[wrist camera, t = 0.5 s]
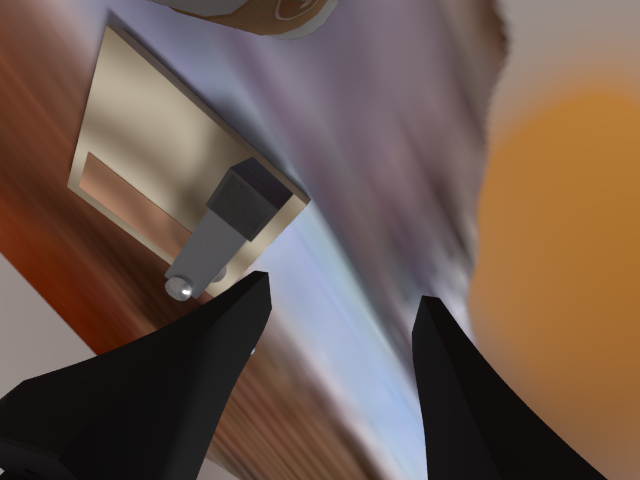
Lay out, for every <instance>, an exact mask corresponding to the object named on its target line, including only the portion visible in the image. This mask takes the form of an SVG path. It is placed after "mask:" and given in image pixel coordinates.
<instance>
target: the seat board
mask: <svg viewBox="0 0 640 480" xmlns="http://www.w3.org/2000/svg"><path fill="white" fill-rule="evenodd" d="M251 157H254V158H255V159H256V160H257V161H258V162H259V163H260V164H261V165H263V166H264V167H265V168H266V169H267V170H268V171H269V172H270V173H271V174H272V175H274V176H275V177H276V178H277V179H278V180H279V181H280V182H281V183H282V184H284V185H285V186H286V187H287V188H288V189H289V190H290V191H291V192H292V193H294V194H293V196H292V197H291V198H290V199H289V200H288V201H287V202H286V204H285V205H284V206H283V207H282V208H281V209H280V210H279V212H278V213H277V214H276V215H275V216H274V217H273V218H272V220H271V221H270V222H269V223H268V224H267V225H266V226H265V228H264V229H263V230H262V231H261V232H260V233H259V234H258V235H257V236H256V238H255V239H254V240H253V241H252V242H249V241H247V242H246V243H245V245H244V246H243V247H242V248H241V249H240V250H239V252H238V253H237V254H236V255H235V256H234V257H233V259H232V260H231V261H230V262H229V263H228V264H227V266H226V267H225V268H224V269H223V270H222V271H221V273H220V274H219V275H218V276H217V277H216V278H215V279H214V280H213V282H212V283H211V284H210V285H209V286H208V287H207V288H206V289H205V291H207V292H208V293H209V294H211V295H212V296H213V297H216V296H218V295H219V294H221V293H222V292H224V291H225V290H227V289H228V288H230V287H231V286H232V284H233V283H234V282H235V281H236V280H237V279H238V278H239V277H240V276H241V275H242V274H243V273H244V272H245V271H246V270H247V269H248V267H249V266H250V265H251V264H252V263H253V262H254V261H255V260H256V259H257V258H258V257H259V256H260V255H261V254H262V253H263V252H264V250H265V249H266V248H267V247H268V246H269V245H270V244H271V243H272V242H273V241H274V240H275V239H276V238H277V237H278V236H279V235H280V233H281V232H282V231H283V230H284V229H285V228H286V227H287V226H288V225H289V224H290V223H291V222H292V221H293V220H294V219H295V218H296V216H297V215H298V214H299V213H300V212H301V211H302V210H303V209H304V208H305V207H306V206H307V204H308V203H309V202H310V200H311V199H310V198H308V197H307V196H306V195H305V194H304V193H303V192H302V191H301V190H300V189H299V188H297V187H296V186H295V185H294V184H293V183H292V182H291V181H290V180H289V179H288V178H286V177H285V176H284V175H283V174H282V173H281V172H280V171H279V170H278V169H277V168H276V167H274V166H273V165H272V164H271V163H270V162H269V161H268V160H267V159H266V158H265V157H263V156H262V155H261V154H260V153H259V152H258V151H257V150H256V149H255V148H254V147H252V146H251V145H250V144H249V143H248V142H247V141H246V140H245V139H244V138H243V137H242V136H240V135H239V134H238V133H237V132H236V131H235V130H234V129H233V128H232V127H231V126H229V125H228V124H227V123H226V122H225V121H224V120H223V119H222V118H221V117H220V116H218V115H217V114H216V113H215V112H214V111H213V110H212V109H211V108H210V107H209V106H207V105H206V104H205V103H204V102H203V101H202V100H201V99H200V98H199V97H198V96H197V95H195V94H194V93H193V92H192V91H191V90H190V89H189V88H188V87H187V86H186V85H184V84H183V83H182V82H181V81H180V80H179V79H178V78H177V77H176V76H175V75H173V74H172V73H171V72H170V71H169V70H168V69H167V68H166V67H165V66H164V65H163V64H161V63H160V62H159V61H158V60H157V59H156V58H155V57H154V56H153V55H152V54H150V53H149V52H148V51H147V50H146V49H145V48H144V47H143V46H142V45H141V44H139V43H138V42H137V41H136V40H135V39H134V38H133V37H132V36H131V35H130V34H128V33H127V32H126V31H125V30H124V29H122V28H118V27H114V26H110V25H106V28H105V32H104V36H103V40H102V45H101V49H100V53H99V57H98V61H97V65H96V69H95V73H94V78H93V82H92V86H91V90H90V94H89V98H88V102H87V107H86V111H85V115H84V119H83V123H82V127H81V131H80V135H79V140H78V144H77V148H76V152H75V156H74V160H73V164H72V169H71V173H70V177H69V181H68V185H67V187H68V188H69V189H71V190H72V191H73V192H75V193H76V194H77V195H79V196H80V197H81V198H83V199H84V200H85V201H87V202H88V203H89V204H91V205H92V206H93V207H95V208H96V209H97V210H99V211H100V212H101V213H103V214H104V215H105V216H107V217H108V218H109V219H111V220H112V221H113V222H115V223H116V224H117V225H119V226H120V227H121V228H123V229H124V230H125V231H127V232H128V233H129V234H131V235H132V236H133V237H135V238H136V239H137V240H139V241H140V242H141V243H143V244H144V245H145V246H147V247H148V248H149V249H151V250H152V251H153V252H155V253H156V254H157V255H159V256H160V257H161V258H163V259H164V260H165V261H167V262H168V263H169V264H171V265H172V263H173V262H174V260H175V259H176V257H177V256H178V254H179V253H180V251H181V250H182V248H183V247H184V245H185V244H186V242H187V241H188V239H189V238H190V236H191V235H192V233H193V232H194V230H195V229H196V227H197V226H198V224H199V223H200V221H201V220H202V218H203V217H204V215H205V214H206V212H207V211H208V209H209V208H208V207H207V206H206V203H207V202H208V200H209V198H210V197H211V195H212V194H213V192H214V191H215V189H216V188H217V186H218V185H219V183H220V182H221V180H222V178H223V177H224V175H225V174H226V172H227V171H228V169H229V168H230V167H232V166H234V165H236V164H238V163H240V162H242V161H244V160H247V159H249V158H251Z"/></svg>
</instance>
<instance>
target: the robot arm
mask: <svg viewBox="0 0 640 480" xmlns="http://www.w3.org/2000/svg"><path fill="white" fill-rule="evenodd" d="M271 310H272V305H271V295H270V285H269V275H268V272H261V271H253V272H252V273H250V274H249V275H247V276H246V277H244V278H243V279H241V280H240V281H238V282H237V283H236V284H234V285H233V286H231V287H230V288H228V289H227V290H225V291H224V292H222V293H221V294H219V295H218V296H216V297H215V298H213V299H212V300H210V301H208V302H207V303H205V304H204V305H202V306H200V307H199V308H196V309H195V310H194V311H192V312H190V313H189V314H187V315H185V316H184V317H182V318H180V319H178V320H176V321H174V322H172V323H171V324H169V325H167V326H165V327H163V328H161V329H159V330H157V331H155V332H153V333H150V334H148V335H146V336H144V337H141V338H139V339H137V340H135V341H133V342H130V343H128V344H126V345H124V346H121V347H119V348H116V349H114V350H111V351H109V352H106V353H104V354H101V355H98V356H96V357H93V358H90V359H88V360H85V361H82V362H79V363H77V364H74V365H71V366H68V367H65V368H62V369H59V370H56V371H52V372H49V373H47V374H43V375H40V376H37V377H34V378H31V379H27V380H24V381H23V382H21V383H20V384H19V385H17V386H16V387H15V388H14V389H13V390H11V391H10V392H9V393H7V394H6V395H5V396H4V397H3V398H1V399H0V468H1V469H3V470H4V472H3V473H2V474H1V475H0V480H196V479H197V476H198V473H199V470H200V468H201V465H202V463H203V460H204V457H205V455H206V452H207V450H208V447H209V444H210V442H211V439H212V437H213V434H214V432H215V429H216V427H217V424H218V422H219V420H220V417H221V415H222V412H223V410H224V408H225V405H226V403H227V401H228V398H229V396H230V394H231V391H232V389H233V387H234V385H235V383H236V381H237V379H238V377H239V375H240V373H241V372H242V370H243V368H244V366H245V364H246V362H247V361H248V359H249V357H250V355H251V354H253V353H254V351H255V346H256V344H257V342H258V340H259V338H260V336H261V334H262V332H263V331H264V328H265V326H266V323H267V321H268V318H269V315H270V312H271ZM412 351H413V363H414V369H415V376H416V382H417V388H418V394H419V400H420V406H421V413H422V419H423V426H424V434H425V445H426V459H427V473H428V480H607V479H606V478H605V477H604V476H603V475H602V474H600V473H599V472H598V471H597V470H596V469H595V468H593V467H592V466H591V465H590V464H589V463H588V462H586V460H584V459H583V458H582V457H581V456H580V455H579V454H578V453H576V452H575V451H574V450H573V449H572V448H571V447H570V446H569V445H568V444H567V443H566V442H565V441H563V440H562V439H561V438H560V437H559V436H558V435H557V434H556V433H555V432H554V431H553V430H552V429H551V428H550V427H548V426H547V425H546V424H545V423H544V422H543V421H542V420H541V419H540V418H539V417H538V416H537V415H536V414H535V413H534V412H533V411H532V410H531V409H530V408H529V407H528V406H527V405H526V404H525V403H524V402H523V401H522V400H521V399H520V398H519V397H518V396H517V395H516V393H514V391H513V390H512V389H510V387H509V386H508V385H507V384H506V383H505V382H504V381H503V380H502V379H501V377H500V376H499V375H498V374H497V373H496V372H495V370H493V368H492V367H491V366H490V364H489V363H488V362H487V361H486V360H485V359H484V357H483V356H482V355H481V354H480V352H479V351H478V350H477V349H476V347H475V346H474V345H473V343H472V342H471V341H470V339H469V338H468V337H467V336H466V334H465V333H464V332H463V330H462V329H461V328H460V326H459V325H458V323H457V322H456V321H455V319H454V318H453V316H452V315H451V314H450V312H449V311H448V309H447V308H446V306H445V305H444V304H443V302H442V301H441V299H440V298H437V297H430V296H424V295H422V298H421V301H420V305H419V309H418V312H417V316H416V320H415V323H414V327H413V331H412Z"/></svg>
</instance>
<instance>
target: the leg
mask: <svg viewBox="0 0 640 480" xmlns="http://www.w3.org/2000/svg"><path fill="white" fill-rule="evenodd" d="M293 194H294V193H292V192H291V191H290V190H289V189H288V188H287V187H286V186H285V185H284V184H282V183H281V182H280V181H279V180H278V179H277V178H276V177H275V176H274V175H272V174H271V173H270V172H269V171H268V170H267V169H266V168H265V167H264V166H263V165H261V164H260V163H259V162H258V161H257V160H256V159H255V158H254V157H251V158H249V159H247V160H244V161H242V162H240V163H238V164H236V165H234V166H232V167H230V168H229V169H228V171H227V172H226V174H225V175H224V177H223V178H222V180H221V182H220V183H219V185H218V186H217V188H216V189H215V191H214V192H213V194H212V195H211V197H210V198H209V200H208V202H207V203H206V206H207V207H208V208H209V209H208V211H207V212H206V214H205V215H204V217H203V218H202V220H201V221H200V223H199V224H198V226H197V227H196V229H195V230H194V232H193V233H192V235H191V236H190V238H189V239H188V241H187V242H186V244H185V245H184V247H183V248H182V250H181V251H180V253H179V254H178V256H177V257H176V259H175V260H174V262H173V263H172V265H171V266H170V268H169V269H168V271H167V272H166V274H165V275H164V276H165V277H167V278H168V279H169V281H167V282H166V284H165V289H166V291H167V293H168V294H169V295H170V296H171V297H173V298H174V299H176V300H179V301H185V300H187V299H188V298H189V297H190V296H192V297H194V298H195V299H197V298H198V297H199V296H200V295H201V294H202V293H203V291H204V290H205V289H206V288H207V287H208V286H209V285H210V284H211V283H212V282H213V280H214V279H215V278H216V277H217V276H218V275H219V274H220V273H221V271H222V270H223V269H224V268H225V267H226V266H227V264H228V263H229V262H230V261H231V260H232V259H233V257H234V256H235V255H236V254H237V253H238V252H239V250H240V249H241V248H242V247H243V246H244V245H245V243H246V242H247V241H249V242H252V241H253V240H254V239H255V238H256V236H257V235H258V234H259V233H260V232H261V231H262V230H263V229H264V228H265V226H266V225H267V224H268V223H269V222H270V221H271V220H272V218H273V217H274V216H275V215H276V214H277V213H278V212H279V210H280V209H281V208H282V207H283V206H284V205H285V204H286V202H287V201H288V200H289V199H290V198H291V197H292V196H293Z"/></svg>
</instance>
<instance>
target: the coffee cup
mask: <svg viewBox="0 0 640 480" xmlns="http://www.w3.org/2000/svg"><path fill="white" fill-rule="evenodd" d="M148 1H152V2H155V3H159V4H162V5H165V6H168V7H170V8H171V9H173V10H175V11H176V12H179V13H182V14H186V15H189V16H193V17H196V18H200V19H204V20H207V21H211V22H214V23H218V24H222V25H225V26H229V27H233V28H236V29H240V30H243V31H247V32H251V33H254V34H258V35H268V36H271V37H275V38H278V39H282V40H292V39H299V38H302V37H304V36H307V35H309V34H311V33H313V32H314V31H315V30H316V29H318V28H319V27H320V26H321V25H322V24H324V23H325V22H326V20H327V19H328V17H329V16H330V15H331V13H332V12H333V10H334V9H335V7H336V6H337V3H338V1H339V0H148Z"/></svg>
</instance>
